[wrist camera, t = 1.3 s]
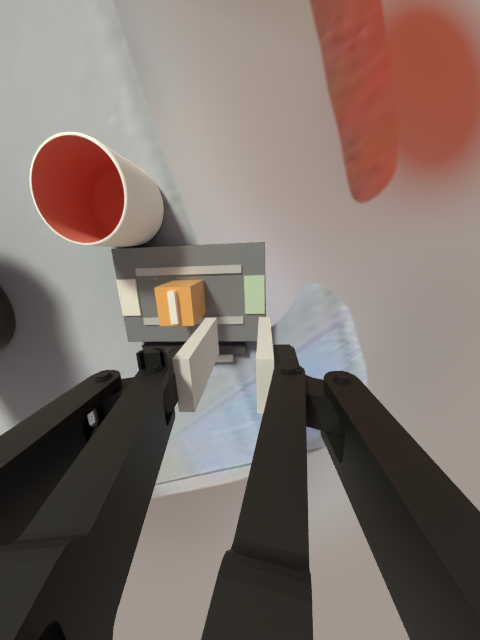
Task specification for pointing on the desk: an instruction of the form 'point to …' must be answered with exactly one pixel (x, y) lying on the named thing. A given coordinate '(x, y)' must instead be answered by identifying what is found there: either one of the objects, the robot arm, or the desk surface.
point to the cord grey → (225, 358)
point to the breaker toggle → (180, 302)
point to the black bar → (223, 347)
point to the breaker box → (193, 264)
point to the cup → (93, 193)
